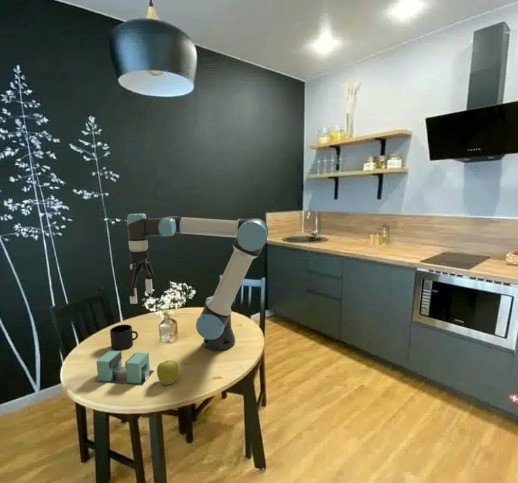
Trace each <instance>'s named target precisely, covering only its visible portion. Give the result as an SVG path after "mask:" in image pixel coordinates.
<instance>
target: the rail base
mask: <svg viewBox="0 0 518 483" xmlns="http://www.w3.org/2000/svg"><path fill="white" fill-rule="evenodd" d="M112 372H113V379H112V380H111V381H100V380H98V377H97V378H95V379H94V380H93V381H92V382H93V383H101V384H102V383H103V384H115V385H116V384H118V385H129V386H130V385H131V386H143V385H144V383H146V381H147V380H148V379H149V378H150V377H151V375H152V374H153V373H154V372H155V370H151V369H150V372H149V369H148V368H141V372H142V381H141V383H128V382H127V371H126V367H125V366H122V367H119V366H113V367H112Z"/></svg>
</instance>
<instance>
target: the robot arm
mask: <svg viewBox="0 0 518 483" xmlns="http://www.w3.org/2000/svg"><path fill="white" fill-rule="evenodd" d="M126 218H127V219H126V226H127V235H128V236H127V237H128V248H129V251H128V252H129V253H128V254H129V260H130V261H132V264H131V263H128V269H127V276H126V280H125V285H124V286H125V289H128V291H129V292H128V294H129V302H130V303H129V304H131V305H133V304H135V305H136V304H138V295H137V293H138V292H137V291H138V290H137V287H136V286H137V281H138V279H139V275H141V272H142V274H143V276H144V277H145V293H146V294H153V293H154V292H153V281H152V280H154V279H155V273H154V270H153V268H152V264H151V260H150V258H149V250H148V249H149V242H148V237H165V238H166V237H173V236H174V235H175V234H187V235H198V236H199V235H200V236H214V237H225V238H235V239H234V242H233V244H232V248H233V252H232V254H231V257H230V259H229V261H228V263H227V265H226V268H225V269H224V271H223V274H222V276H221V278H220V281H219V283H218V285H217V287H216V289H215V291H214V294H213V295H212V296H209V297H207V298H206V299H205V302H204V303H205V304H204V307H203V308H202V311H201V313H200V315H199V317H198V318H197V320H196V323H195V328H196V332H197V333H198V335H199V336H200V337H201V338H203V346H204V348H206V349H207V350H211V351H225V350H228V349H230V348H232V347H233V346H235V344H236V336H235V334H234V331H233V329H232V308H231V307H232V305H233V302H234V300H235V298H236V296H237V294H238V292H239V290H240V288H241V285H242V283H243V281H244V278H245V277H246V275H247V273H248V270H249V268H250V267H251V264H252V262H253V260H254V259H256V258H258V257H259V256H260V253H261V252H262V250H263V248H264V246H265V245H266V243H267V240H268V236H269V227H268V225H267V223H266V222H265V221H264V220H263V219H260V218H255V217H254V218H238V219H237V220H232V219H231V220H229V219H216V218H204V217H202V218H201V217H186V216H185V217H184V216H177V215H169V216H165V217H160V218H159V217H158V218H155V217H154V218H152V217H151V218H149V217H147V214H145V213H129V214H128V215H127V216H126Z"/></svg>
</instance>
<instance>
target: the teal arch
mask: <svg viewBox="0 0 518 483" xmlns="http://www.w3.org/2000/svg"><path fill="white" fill-rule="evenodd" d="M124 365H125V366H124V367H126V371H127V382H128V383H141V381H142V372H141V368H148V369H149V372H150V370H151V368H150V367H151V366H150V353H149V352H135V353H134V354H132V355H130V357H129V358H128V359H126V361H125V364H124Z"/></svg>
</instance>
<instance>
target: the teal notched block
mask: <svg viewBox="0 0 518 483" xmlns="http://www.w3.org/2000/svg"><path fill="white" fill-rule="evenodd" d="M121 351H122V350H120V351H116V350H108V351H107V352H106V353H104V354H103V355H102V356H101V357H100V358H98V359H97V360H96V371H97V378H98V380H100V381H111V380H112V379H113V372H112V367H113V366H119V367H123V365H122V364H123V363H122V360H123V358H122V357H123V356H122V352H121Z"/></svg>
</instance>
